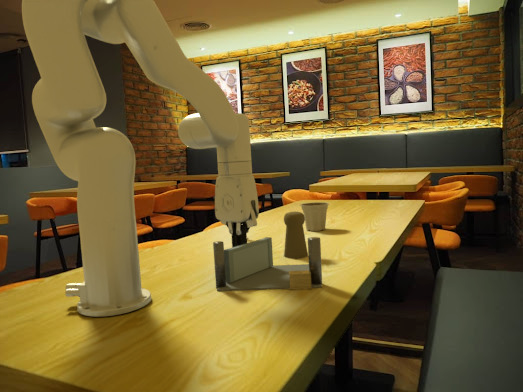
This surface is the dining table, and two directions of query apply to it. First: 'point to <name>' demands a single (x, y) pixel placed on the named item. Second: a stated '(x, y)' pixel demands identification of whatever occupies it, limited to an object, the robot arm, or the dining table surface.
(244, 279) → the mat
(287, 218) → the cork
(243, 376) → the dining table surface
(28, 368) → the dining table surface
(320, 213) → the flower pot
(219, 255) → the hinge post
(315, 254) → the stile
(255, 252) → the gate
